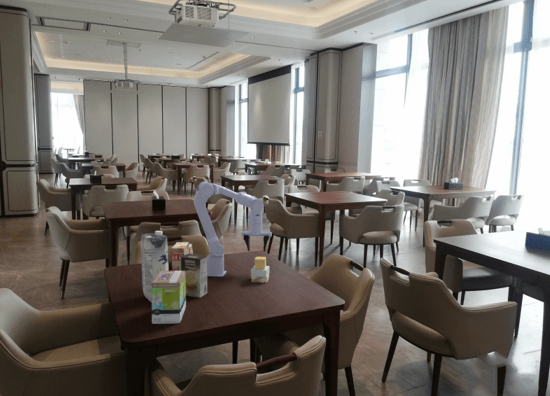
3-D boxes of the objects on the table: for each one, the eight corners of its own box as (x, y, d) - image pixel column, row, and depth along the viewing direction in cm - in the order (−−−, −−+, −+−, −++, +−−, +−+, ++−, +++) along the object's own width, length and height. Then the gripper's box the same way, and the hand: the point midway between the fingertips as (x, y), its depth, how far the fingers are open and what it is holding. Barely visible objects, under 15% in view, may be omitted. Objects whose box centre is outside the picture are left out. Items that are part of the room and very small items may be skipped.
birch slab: (251, 282, 194) (251, 276, 194) (254, 278, 201) (254, 271, 201) (267, 283, 194) (267, 276, 193) (269, 278, 201) (269, 272, 200)
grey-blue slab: (251, 276, 194) (250, 269, 194) (254, 271, 201) (254, 265, 201) (266, 276, 193) (266, 270, 193) (269, 272, 200) (269, 266, 199)
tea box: (181, 323, 149) (180, 281, 147) (151, 324, 148) (149, 282, 147) (186, 307, 164) (185, 269, 162) (159, 308, 163) (158, 270, 161)
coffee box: (180, 295, 177) (179, 256, 175) (188, 290, 183) (187, 253, 181) (200, 298, 174) (199, 258, 172) (208, 292, 180) (207, 255, 178)
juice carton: (148, 303, 168) (146, 235, 164) (141, 296, 176) (138, 230, 173) (171, 299, 172) (169, 232, 169) (162, 292, 181) (160, 228, 178)
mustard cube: (254, 268, 195) (254, 259, 194) (256, 266, 199) (256, 256, 199) (264, 269, 194) (264, 259, 194) (266, 266, 199) (266, 256, 198)
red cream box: (181, 261, 230) (180, 238, 229) (193, 261, 230) (192, 238, 229) (171, 272, 209) (171, 247, 208) (185, 272, 209) (184, 247, 208)
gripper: (239, 224, 206) (240, 252, 207) (270, 224, 204) (270, 253, 206) (242, 221, 213) (243, 248, 214) (272, 222, 211) (272, 249, 213)
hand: (256, 250), depth 211 cm, fingers open, 7 cm apart
